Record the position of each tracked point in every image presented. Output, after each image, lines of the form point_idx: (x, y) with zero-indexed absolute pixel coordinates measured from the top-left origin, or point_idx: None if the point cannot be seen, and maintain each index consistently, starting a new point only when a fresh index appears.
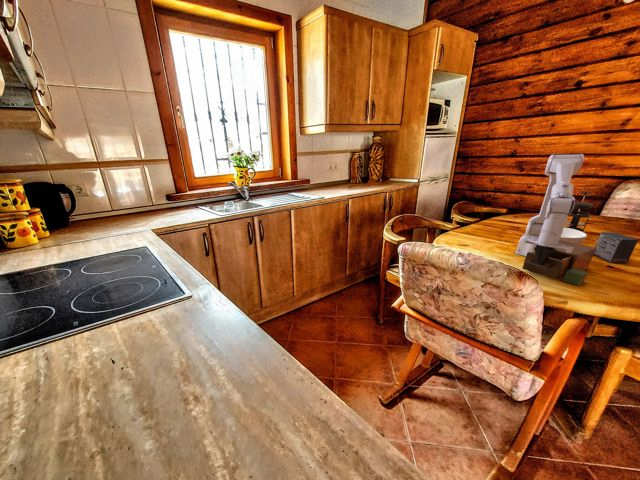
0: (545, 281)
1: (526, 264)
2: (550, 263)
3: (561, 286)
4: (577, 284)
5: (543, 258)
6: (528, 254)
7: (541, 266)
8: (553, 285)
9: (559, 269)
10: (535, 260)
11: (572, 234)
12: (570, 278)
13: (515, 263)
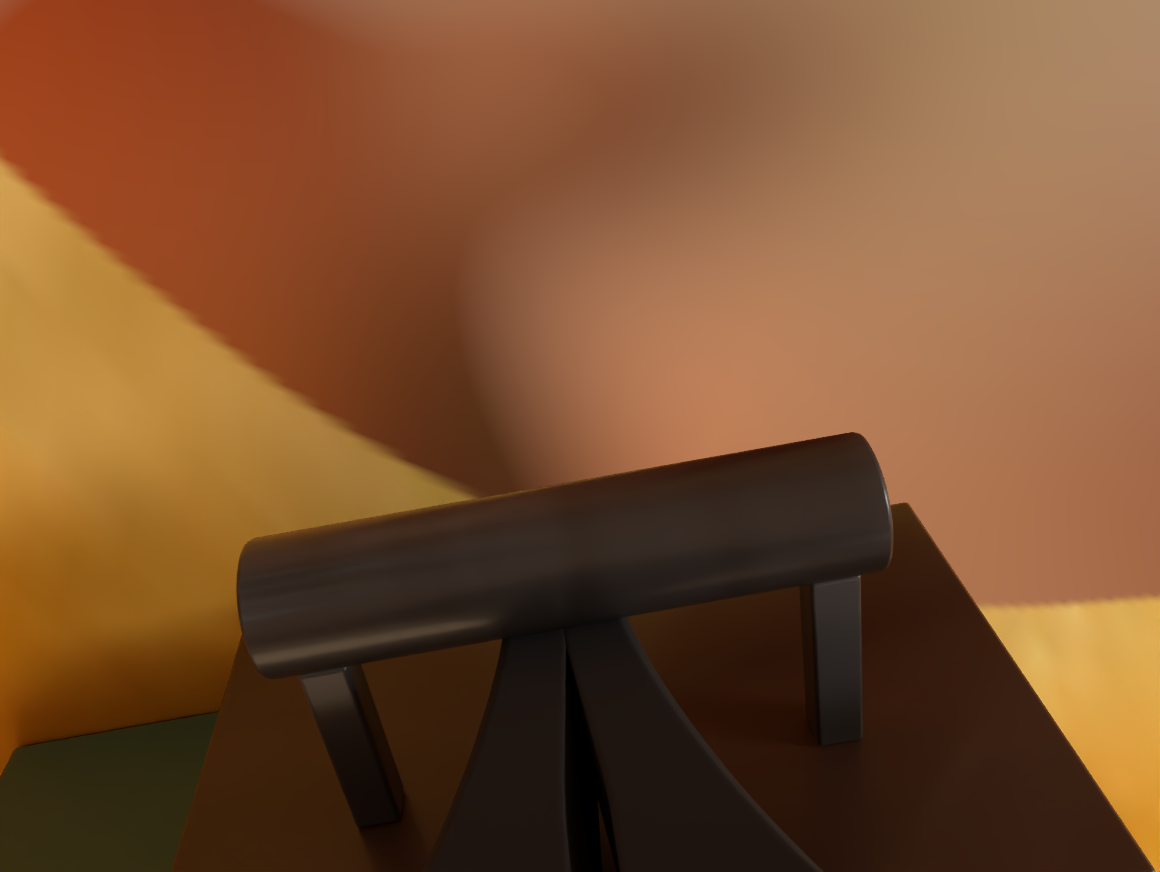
0: (314, 432)
1: (899, 595)
2: (419, 859)
3: (32, 495)
4: (13, 761)
5: (468, 818)
6: (1070, 826)
7: (396, 545)
8: (104, 400)
9: (194, 817)
10: (786, 760)
11: None
12: (121, 801)
13: (1139, 659)
